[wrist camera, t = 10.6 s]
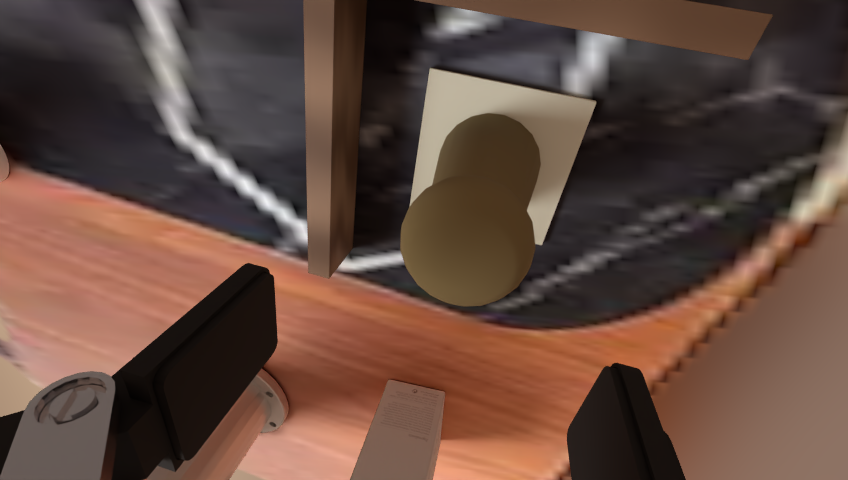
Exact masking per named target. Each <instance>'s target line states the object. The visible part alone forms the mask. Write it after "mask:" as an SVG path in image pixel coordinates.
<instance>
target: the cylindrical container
mask: <svg viewBox="0 0 848 480" xmlns="http://www.w3.org/2000/svg"><path fill="white" fill-rule="evenodd" d="M8 174H9V163H8V159H7V156H6V154H5V152H4V150H3V148H2V146H1V144H0V182H1V181H3V180H5V179H6V178H7V177H8Z"/></svg>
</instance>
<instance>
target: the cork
mask: <svg viewBox="0 0 848 480" xmlns="http://www.w3.org/2000/svg"><path fill="white" fill-rule="evenodd" d="M540 166H541V161H540V152H539V147H538V145H537V143H536V141H535V139H534V137H533V135H532V134H531V133H530V132H529V131H528V130H527V129H526V128H525V127H524V126H523V125H522V124H521V123H520V122H518V121H516V120H514V119H512V118H510V117H508V116H506V115H500V114H492V113H486V114H481V115H476V116H471V117H469V118H468V119H466V120H464V121H463V122H461V123H459V124H457V125H456V126H455V127H454V129H453V130H452V131H451V132H450V133H449V134H448V135H447V136H446V138H445V141H444V143H443V145H442V148H441V150H440V154H439V158H438V162H437V166H436V171H435V175H434V179H433V183H432V186H430V187H428V188H426V189H425V190H424V191H423V192H422V193H421V194H420V195H419V196H418V197H417V198H416V199H415V200H414V201H413V203H412V204H411V206H410V207H409V209H408V211H407V214H406V216H405V218H404V221H403V223H402V227H401V245H400V250H401V253H402V256H403V260H404V263H405V266H406V268H407V270H408V271H409V273H410V274H411V276H412V277H413V279H414V280H415V281H416V283H417V284H418V285H419V286H420V287H421V288H422V289H424V290H425V291H426V292H427V293H428V294H430V295H431V296H433V297H435V298H437V299H439V300H441V301H443V302H446V303H449V304H454V305H459V306H482V305H485V304H488V303H491V302H494V301H497V300H499V299H501V298H503V297H504V296H506V295H507V294H508V293H510V292H511V291H513V290H514V289H516V288H517V287H518V285H519V284H520V283H521V281H522V280H523V278H524V277H525V276H526V274H527V273H528V271H529V269H530V267H531V263H532V259H533V255H534V251H535V237H534V230H533V222H532V220H531V218H530V216H529V214H528V212H527V209H528V206H529V203H530V200H531V197H532V194H533V191H534V188H535V185H536V182H537V179H538V175H539V171H540Z"/></svg>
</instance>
